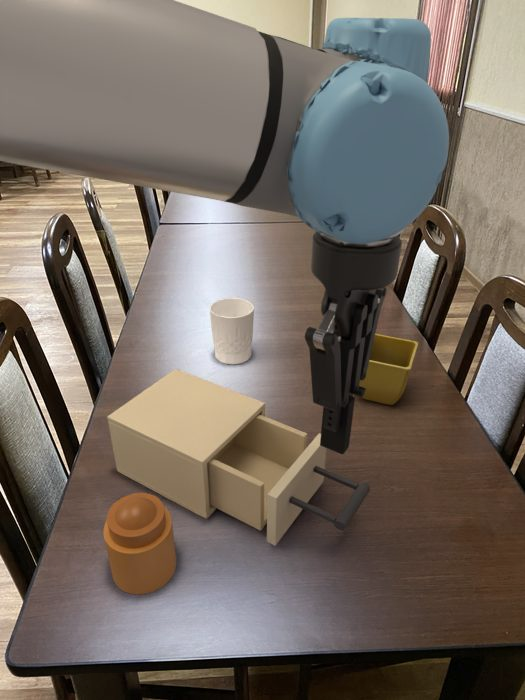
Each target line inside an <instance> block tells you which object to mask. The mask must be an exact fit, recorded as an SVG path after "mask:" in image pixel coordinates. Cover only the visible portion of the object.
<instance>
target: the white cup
mask: <svg viewBox="0 0 525 700" xmlns="http://www.w3.org/2000/svg"><path fill="white" fill-rule="evenodd" d="M254 316H255V306H254V304H253V303H252V302H251V301H250V300H247V299H245V298H244V299H243V298H240V297H226V298H220V299H218V300H216V301H214V302H212V303H211V304H210V306H209V318H210V326H211V327H210V328H211V335H212V341H213V342H212V343H213V346H214V347H213V348H214V356H215V359H217V361H218V362H220V363H222V364H226V365H240V364H243V363H245V362H247V361H248V360H249V359H250V358H251V356H252V344H253V338H254V336H253V335H254V318H255V317H254Z"/></svg>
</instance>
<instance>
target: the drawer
mask: <svg viewBox="0 0 525 700" xmlns="http://www.w3.org/2000/svg"><path fill="white" fill-rule="evenodd" d="M320 439H321V432H318V434H317V435H316V436H315V437H314V438H313V440H312V441H311V442H310V443H309V444H308V443H307V442H308V433H307V432H304V431H302V430H299V429H297V428H294V427H292V426H289V425H287V424H284V423H283V422H279V421H277V420H274V419H272V418H270V417H267V416H266V415H265V416H262V415H260V414H258V415H257V416H256V417H255V418H254V419H253V420H252V421H250V422H249V423H248V424H247V425H246V426H245V427H244V428H243V429H242V430H241V431H240V432H239V433H238V434H237V435H236V436H235V437H234V438H233V439H232V440H231V441H230V442H229V443H227V444H226V445H225V446H224V447H223V448H222V449H221V450H220V451H219V452H218V453H217V454H216V455H215V456H214V457H213V458H212V459H211V460H210V461H209V462H208V463H207V472H208V488H209V504H210V505H212V506H214V507H216V508H217V509H218V510H220V511H222V512H223V513H225V514H227V515H229V516H231V517H233V518H235V519H237V520H239V521H241V522H243V523H245V524H247V525H249V526H250V527H252V528H254V529H256V530H258V531H260V532H261V531H262V530H263V528H264V527H266V542H267V543H269V544H271V545H273V546H274V547H276V546H277V545H278V543H279V542H280V540H281V539H282V538H283V536H284V535H285V534H286V532H287V531H288V530H289V528H290V527H291V526H292V524H293V523H294V521H295V520H296V519H297V518H298V516H299V515H300V514H301V512H302V511H303V510H304V511H306V512H309V513H310V514H313V515H315V516H316V517H319V518H321V519H322V520H325V521H327V522H329V523H331V524H333V526H334V528H335V529H336V530H338V531H340V532H343V531H345V530H346V529H347V527H348V525H350V523H351V520H352V519H353V518H354V516H355V514H356V513H357V512H358V510H359V509H360V507H361V506H362V504H363V502H364V501H365V499H366V497H367V496H368V495H369V493H370V491H371V486H370V485H369V484H368V483H366V482H364V481H363V482H360V483H358V482H355V481H352V480H350V479H348V478H347V477H346V478H345V477H344V476H341V475H338V474H337V473H335V472H332V471H329V470H327V469H326V458H327V457H326V456H327V448H325V447H323V446H320ZM307 445H308V446H307ZM324 478H327V479H329V480H332V481H334V482H337V483H339V484H341V485H344V486H346V487H348V488H351V489H353V490H354V491H353V493H352V494H351V496H350V497H349V499H348V500H347V502H346V504H345V505H344V506H343V508H342V509H341V511H340V512H339V514H338V515H337V516H336V515H334V514H331V513H329V512H327V511H325V510H323V509H321V508H319V507H317V506H314V505H312V504H310V503H309V502H310V500H311V499H312V497H313V496H314V495H315V493H316V492H317V491H318V490H319V488H320V487H321V486H322V484H323V483H324V480H325V479H324Z"/></svg>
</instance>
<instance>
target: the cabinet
mask: <svg viewBox="0 0 525 700" xmlns="http://www.w3.org/2000/svg"><path fill="white" fill-rule="evenodd" d="M258 414H260V415H262V416H265V417H266V402H264V401H261V400H260V399H259V400H258V399H256V398H253V397H250V396H248V395H245V394H243V393H241V392H238V391H235V390H233V389H230V388H228V387H225V386H222V385H219V384H218V383H215V382H212V381H209V380H207V379H204V378H202V377H199V376H196V375H195V374H191V373H189V372H186V371H183V370H181V369H178V368H174V369H173V370H172V371H170V372H169V373H167V374H165V376H163V377H161V378H160V379H159V380H157V381H156V382H155V383H153V384H152V385H150V386H149V387H147V388H146V389H144V390H143V391H142V392H140V393H139V394H137V395H136V396H134V397H133V398H131V399H130V400H128V401H127V402H126V403H125V404H123V405H122V406H120V407H118V408H117V409H116V410H114V411H113V412H112V413H110V414H109V415H107V416H106V419H107V423H108V429H109V434H110V439H111V445H112V451H113V457H114V461H115V462H114V463H115V466H116V472H117V473H119V474H122V475H123V476H125V477H127V478H129V479H131V480H133V481H134V482H136V483H138V484H140V485H142V486H144V487H146V488H148V489H149V490H151V491H153V492H155V493H157V494H158V495H161V496H162V497H164V498H166V499H168V500H170V501H172V502H173V503H176V504H177V505H179V506H181V507H183V508H185V509H187V510H189V511H190V512H192V513H194V514H196V515H198V516H200V517H201V518H203V519H206V520H207V519H209V517H210V516H211V515H212V514H213V513H214V512H215V511H216V510H217V509H218V508H216V507H214V506H212V505H210V504H209V488H208V472H207V463H208V462H209V461H210V460H211V459H212V458H213V457H214V456H215V455H216V454H217V453H218V452H219V451H220V450H221V449H222V448H223V447H224V446H225V445H226V444H227V443H229V442H230V441H231V440H232V439H233V438H234V437H235V436H236V435H237V434H238V433H239V432H240V431H241V430H242V429H243V428H244V427H245V426H246V425H247V424H248V423H249V422H250V421H252V420H253V419H254V418H255V417H256V416H257V415H258Z"/></svg>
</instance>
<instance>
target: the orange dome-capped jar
mask: <svg viewBox="0 0 525 700" xmlns="http://www.w3.org/2000/svg"><path fill="white" fill-rule="evenodd" d="M103 526H104V527H103V532H102V533H103V538H104V543H105V548H106V554H107V557H108V562H109V566H110V571H111V576H112V580H113V582H114V584H115V585H116V586H117V588H119V589H120V590H121V591H122V592H125V593H127V594H131V595H140V596H141V595H148V594H152V593H154V592H156V591H158V590H161V588H163V587H164V586H166V585H167V583H168V582H169V581H170V580H171V579H172V577H173V576H174V574H175V572H176V569H177V553H176V546H175V537H174V529H173V520H172V516H171V513H170V511H169V510H168V509H167V507H165V505H164V503H163V501H162V500H161V499H160V498H159V497H158V496H156V495H154V494H151V493H147V492H134V493H130V494H127V495H125V496H123V497H121V498H119V499H117V500H116V501H115V502H114V503H113V504H112V505H111V506H110V508H109V510H108V511H107V515H106V521H105V522H104V525H103Z"/></svg>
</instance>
